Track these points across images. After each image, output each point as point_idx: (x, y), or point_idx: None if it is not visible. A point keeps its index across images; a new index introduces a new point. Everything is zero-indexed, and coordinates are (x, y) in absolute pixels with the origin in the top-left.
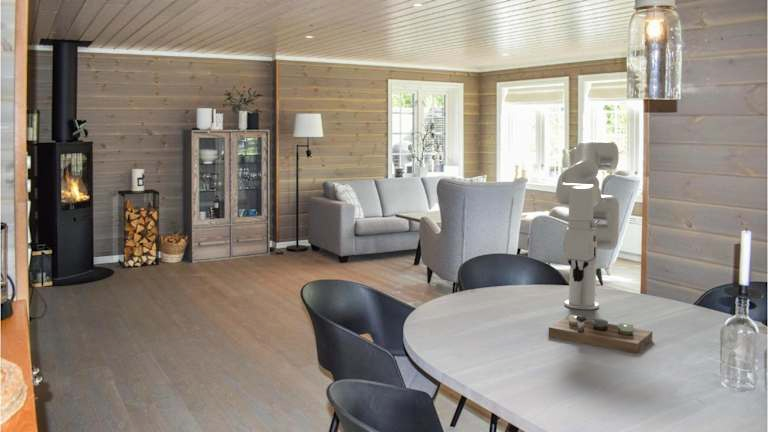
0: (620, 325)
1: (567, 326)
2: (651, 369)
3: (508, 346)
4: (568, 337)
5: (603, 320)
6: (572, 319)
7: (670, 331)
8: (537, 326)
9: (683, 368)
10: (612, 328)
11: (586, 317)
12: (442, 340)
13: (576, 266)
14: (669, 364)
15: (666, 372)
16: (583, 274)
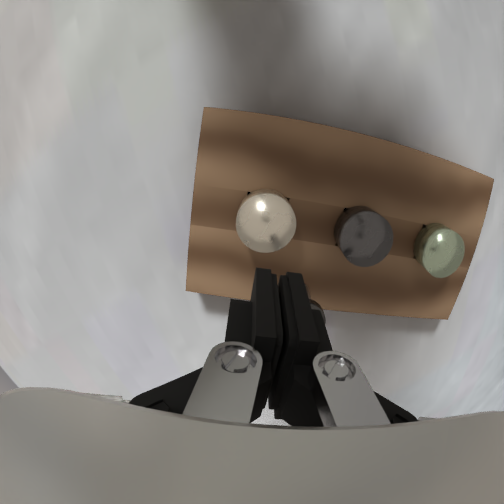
0: (430, 265)
1: (240, 250)
2: (441, 372)
3: (144, 380)
4: None
5: (377, 227)
6: (255, 249)
7: (499, 59)
8: (122, 176)
9: (490, 337)
10: (395, 198)
11: (324, 321)
12: (42, 378)
13: (252, 415)
14: (477, 331)
15: (460, 371)
16: (324, 333)
